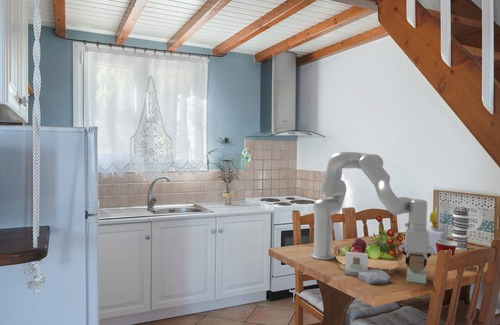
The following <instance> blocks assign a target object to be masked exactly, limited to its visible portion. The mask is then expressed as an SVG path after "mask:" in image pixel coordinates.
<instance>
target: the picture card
mask: <svg viewBox="0 0 500 325" xmlns="http://www.w3.org/2000/svg"><path fill="white" fill-rule="evenodd" d="M368 257H369V254H368V253H363V252H351V251H346V252H345V259H344V260H345V261H344V262H345V263H344V264H345V265H344V276H351V277H358V276H359V273H360V272H367V271H368V265H369V264H368V263H369V260H368V259H369V258H368Z"/></svg>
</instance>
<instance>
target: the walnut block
mask: <svg viewBox="0 0 500 325" xmlns="http://www.w3.org/2000/svg"><path fill="white" fill-rule="evenodd" d="M407 268H409V269H414V270H425V268H424V255H423V253H414V252H410V254H409V266H407Z"/></svg>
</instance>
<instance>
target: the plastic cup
mask: <svg viewBox="0 0 500 325" xmlns="http://www.w3.org/2000/svg"><path fill="white" fill-rule="evenodd" d="M435 243H436V249H437V254H438V252H439V251H440V250H449V249H451V250H452V254H451V255H452V256H453V255H455V251H456V250H457V249H456V246H457V245H458V244H457V243H455V242H452V240H440V239H437V240H435ZM453 257H454V256H453Z"/></svg>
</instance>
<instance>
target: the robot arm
mask: <svg viewBox="0 0 500 325" xmlns="http://www.w3.org/2000/svg"><path fill="white" fill-rule="evenodd" d="M383 166H384V160H383V158H382V157H381V156H380V155H378V154H375V153H374V154H373V153H365V152H364V153H363V152H357V151H356V152H355V151H341V152H340V151H338V152H336V153H334V154H332V155H331V156H330V158H329V159H328V162H327V165H326V171H325V172H324V173H325V174H324V176H323V179H322V180H323V181H322V183H321V187H320V193H321V194H322V196H323V198H319V199H317V200H316V201H314V203H313V207H312V209H313V210H312V211H313V217H314V218H313V219H314V220H313V221H314V228H313V230H314V233H313V234H314V235H313V236H314V237H313V252H311V253H310V257H312V258H314V259H316V260H324V261H325V260H333V259H335V254H334V253H333V252H332V249H333V248H332V247H333V219H332V217H331V216H333V215H336V214H338V213H339V212H340V211H341V209H342V208H343V203H344V200H345V197H346V193H347V184H346V182H345V180H342V176H343V169H359V170H361V171H362V172H363V173H364V174H365V176H366V177H367V179H369V181H370V182H371V183H372V184H373V186H374V188H375V192H376V195H377V197H378V199H379V201H380V203H381V204H383V206H384V207H385V209H386V210H387V211H388V212H389V213H391V215H395V216H398V215H402V214H408V222H406V223H404V226H405V227H406V230H405V237H404V242H403V243H401V245H399V246H398V248H397V249H398V251H400V252H401V254H402V255H403V256H404V257H405V264H406V266H407V267H408V266H409V254H410V253H420V254H423V256H424V269H425V268H426V266H427V264H428V263H427V261H428V259H429V258H430V257H431V256H432V255H434V254H433V253H435V250H434V249H433V248H432V247H431V246H430V245H429V233H428V231H427V230H426V229H427V222H428V221H427V220H428V202H427V201H426V200H425V199H422V198H421V199H419V198H415V199H414V198H411V197H406V196H402V197H398V196H397V195H396V194H395V192H394V191H393V190H392V188H391V185H390V181H391V176H390V174H389V173H388V172H387V171H386V170H385V169H384V167H383ZM403 248H404V249H403ZM429 249H430V250H431V251H430V252H429Z"/></svg>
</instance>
